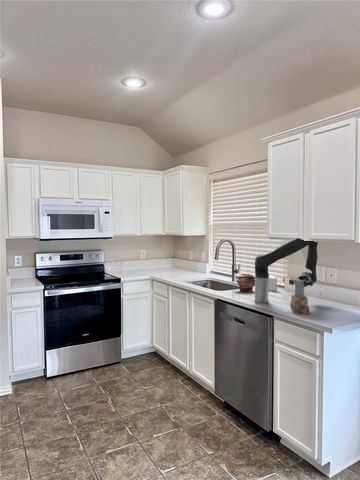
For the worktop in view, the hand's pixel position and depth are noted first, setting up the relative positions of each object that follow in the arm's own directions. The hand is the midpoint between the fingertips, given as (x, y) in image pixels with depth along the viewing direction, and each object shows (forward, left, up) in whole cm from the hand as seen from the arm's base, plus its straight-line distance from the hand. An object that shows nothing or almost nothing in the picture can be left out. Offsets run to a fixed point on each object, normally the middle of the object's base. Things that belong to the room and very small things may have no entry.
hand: (298, 284), depth 216 cm
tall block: (+1, +1, -8) cm, 8 cm away
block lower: (+1, +1, -18) cm, 18 cm away
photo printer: (-11, +70, -18) cm, 73 cm away
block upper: (+1, +1, -13) cm, 13 cm away
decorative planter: (-31, +60, -18) cm, 70 cm away
